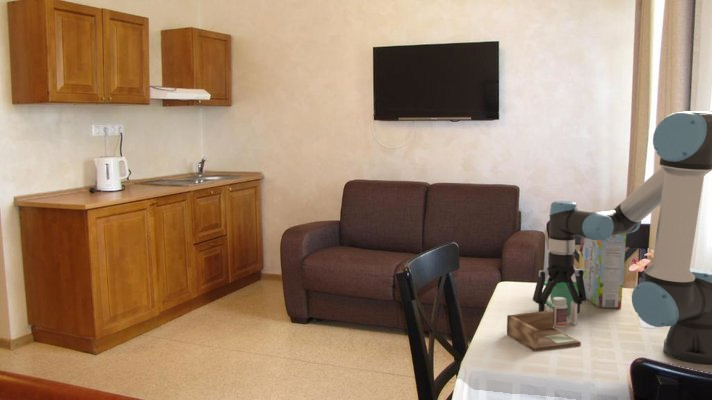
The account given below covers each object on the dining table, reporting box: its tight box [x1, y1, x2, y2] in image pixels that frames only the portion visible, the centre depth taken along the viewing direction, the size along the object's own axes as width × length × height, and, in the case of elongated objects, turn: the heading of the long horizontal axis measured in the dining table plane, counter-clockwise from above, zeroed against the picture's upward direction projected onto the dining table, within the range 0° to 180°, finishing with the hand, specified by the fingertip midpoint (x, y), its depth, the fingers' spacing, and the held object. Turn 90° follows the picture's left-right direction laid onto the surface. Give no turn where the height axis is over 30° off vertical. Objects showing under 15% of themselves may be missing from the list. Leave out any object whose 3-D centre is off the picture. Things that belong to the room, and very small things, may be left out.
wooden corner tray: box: [506, 309, 581, 353], centre depth 182 cm, size 14×15×6 cm
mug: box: [544, 280, 579, 317], centre depth 208 cm, size 15×10×10 cm
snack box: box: [578, 234, 627, 309], centre depth 222 cm, size 22×9×26 cm, turn 179°
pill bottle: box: [550, 297, 568, 328], centre depth 196 cm, size 5×5×8 cm
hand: (558, 324), depth 196 cm, fingers open, 9 cm apart
